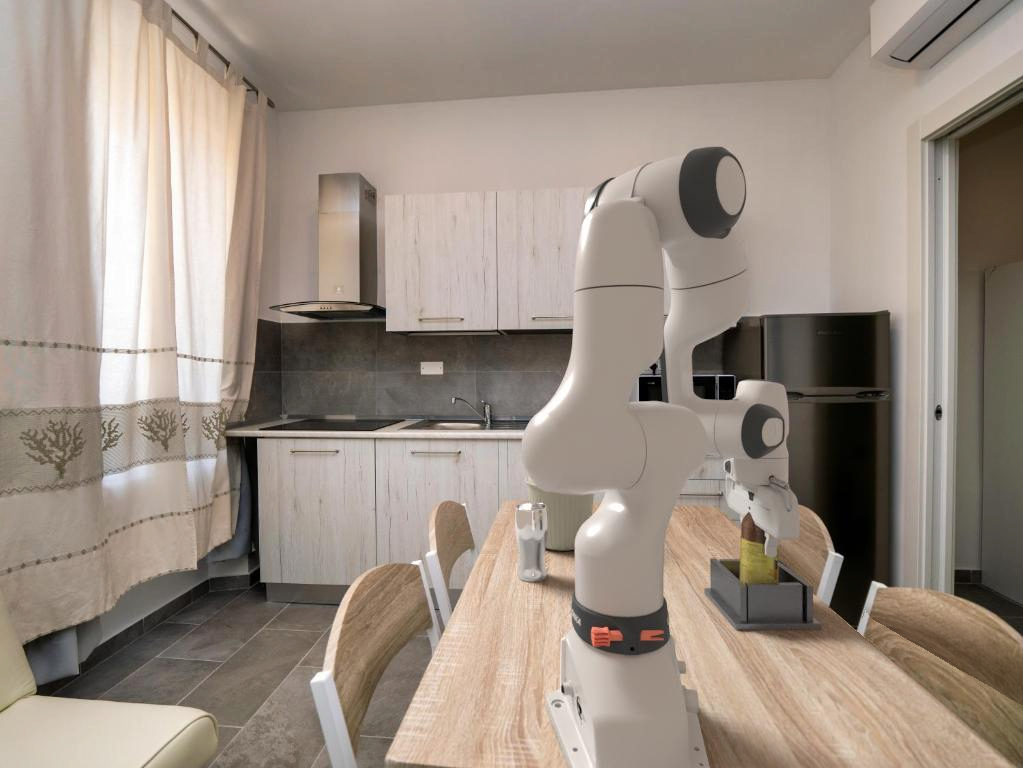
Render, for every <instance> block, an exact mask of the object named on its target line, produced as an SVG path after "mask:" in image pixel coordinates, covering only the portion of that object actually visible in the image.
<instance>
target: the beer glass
mask: <svg viewBox="0 0 1023 768" xmlns="http://www.w3.org/2000/svg"><path fill="white" fill-rule="evenodd" d="M514 517H515V518H514V530H515V531H514V532H515V537H516V538H515V539H516V545H517V550H518V556H519V557H518V558H519V564H518V565H519V566H518V572H517V577H518V579H519V580H521V581H523V582H528V583H537V582H541V581H544V580H545V579H546V578H547V569H546V563H545V559H546V557H545V555H546V549H547V548H546V543H547V536H548V516H547V506H546V505H545V504H543V503H537V502H530V501H528V502H521V503H517V504H516V506H515V515H514Z"/></svg>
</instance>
